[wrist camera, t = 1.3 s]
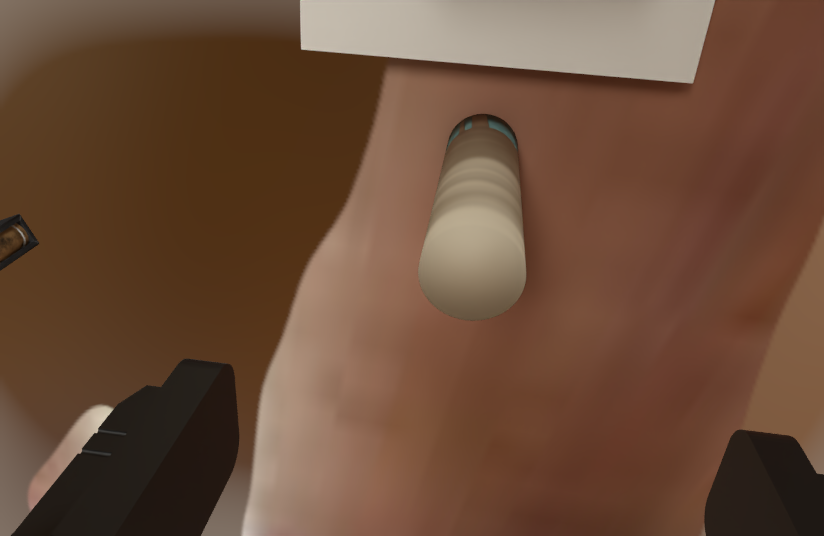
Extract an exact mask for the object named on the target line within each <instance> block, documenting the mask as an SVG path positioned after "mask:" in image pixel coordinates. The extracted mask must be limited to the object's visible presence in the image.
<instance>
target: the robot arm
mask: <svg viewBox="0 0 824 536" xmlns="http://www.w3.org/2000/svg"><path fill="white" fill-rule="evenodd" d="M237 414H238V413H237V401H236V389H235V376H234V370H233V368H232V366H231V365H230V364H225V363H218V362H209V361H202V360H194V359H184V360H182V361H181V362H180V363H179V364H178V365H177V366H176V368H175V369H174V371H173V372H172V373H171V375H170V376H169V377H168V378H167V380H166V381H165V382H164V384H163V385H162V387H156V386H148V385H147V386H145V387H144V388H142V389H141V390H139V391H138V392H136V393H134V394H133V395H131V396H130V397H128V398H127V399H125V400H124V401H122V402H121V403H119V404H118V405H117V406H116V407H115V408H114V410H113V411H112V412H111V413H110V415H109V416H108V417H107V418H106V420H105V421H104V422H103V423H102V425H101V426H100V427H99V428H98V433H94V434H93V436H92V437H91V438H90V439H89V441H88V442H87V443H86V444H85V445H84V447H83V448H82V452H81V454H77V455H76V457H75V458H74V459H73V460H72V461H71V463H70V464H69V465H68V466H67V468H66V469H65V470H64V471H63V473H62V474H61V475H60V476H59V478H58V479H57V480H56V481H55V482H54V484H53V485H52V486H51V487H50V489H49V490H48V491H47V492H46V494H45V495H44V496H43V497H42V498H41V500H40V501H39V502H38V503H37V505H36V506H35V507H34V508H33V510H32V511H31V512H30V513H29V514H28V516H27V517H26V518H25V519H24V521H23V522H22V523H21V525H20V526H19V527H18V528H17V529H16V531H15V532H14V533H13V534H12V535H11V536H201V534H202V532H203V530H204V528H205V526H206V524H207V522H208V520H209V517H210V516H211V514H212V512H213V510H214V508H215V506H216V504H217V502H218V500H219V498H220V496H221V494H222V492H223V490H224V488H225V485H226V484H227V481H228V479H229V478H230V475H231V473H232V471H233V468H234V465H235V462H236V458H237V453H238V447H239V426H238V415H237ZM705 532H706V536H824V475H823V474H817V473H816V471H815V470H814V468H813V466H812V465H811V463H810V461H809V460H808V458H807V456H806V455H805V453H804V451H803V449H802V448H801V447H800V444H799V443H798V442H797V440H796V439H795V438H793V437H791V436H787V435H779V434H771V433H763V432H755V431H747V430H737V431H735V433H734V434H733V435H732V436H731V438H730V441H729V443H728V446H727V448H726V451H725V454H724V456H723V459H722V462H721V464H720V467H719V469H718V472H717V475H716V477H715V480H714V482H713V485H712V488H711V490H710V493H709V496H708V498H707V502H706V507H705Z"/></svg>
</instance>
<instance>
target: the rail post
mask: <svg viewBox="0 0 824 536" xmlns="http://www.w3.org/2000/svg"><path fill="white" fill-rule="evenodd" d="M418 276H419V282H420V286H421V288H422V291H423V293H424V294H425V296H426V297H427V299H428V300H429V301H430V302H431V303H432V304H433V305H434V306H435V307H436V308H437V309H439V310H440V311H441V312H443V313H445V314H447V315H449V316H452V317H454V318H458V319H462V320H471V321H475V320H485V319H489V318H493V317H495V316H498V315H500V314H502V313H503V312H505V311H507V310H508V309H509V308H511V307H512V306H513V305H514V304H515V303H516V301H517V300H518V299H519V297H520V296H521V294H522V292H523V289H524V287H525V282H526V262H525V247H524V233H523V218H522V203H521V189H520V174H519V159H518V144H517V139H516V136H515V133H514V132H513V130H512V128H511V127H510V126H509V125H508V124H507V123H506V122H505V121H504V120H502V119H500V118H498V117H496V116H493V115H488V114H477V115H473V116H470V117H468V118H466V119H464V120H462V121H461V122H460V123H459V124H458V125H457V126H456V127H455V128H454V129H453V131H452V133H451V135H450V137H449V141H448V145H447V149H446V153H445V157H444V161H443V166H442V170H441V174H440V178H439V183H438V187H437V191H436V195H435V199H434V204H433V208H432V212H431V216H430V220H429V225H428V229H427V233H426V237H425V241H424V246H423V250H422V254H421V258H420V262H419V268H418Z"/></svg>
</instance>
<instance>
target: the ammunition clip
mask: <svg viewBox="0 0 824 536" xmlns="http://www.w3.org/2000/svg"><path fill="white" fill-rule="evenodd" d="M38 244H39V242H38V241H37V239H36V238H35V236H34V235H33V233H32V232H31V230H30V229H29V227H28V226H27V225H26V223H25V222H24V220H23V219H22V217H21V215H20V214H17V215H14V216H12V217H9V218H6V219H3V220H0V270H2V269H3V268H5V267H6V266H8V265H9V264H10V263H12V262H13V261H15V260H16V259H18V258H19V257H20V256H22V255H24V254H25V253H27V252H28V251H29V250H31V249H32V248H34V247H35V246H37V245H38Z"/></svg>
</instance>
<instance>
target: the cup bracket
mask: <svg viewBox="0 0 824 536" xmlns="http://www.w3.org/2000/svg"><path fill="white" fill-rule="evenodd" d="M714 3H715V0H300V16H301V17H300V19H301V49H302V50H313V51H325V52H337V53H348V54H360V55H372V56H382V57H394V58H405V59H417V60H428V61H440V62H451V63H463V64H474V65H486V66H497V67H509V68H520V69H532V70H543V71H555V72H566V73H578V74H589V75H601V76H612V77H624V78H635V79H647V80H659V81H670V82H682V83H693V81H694V78H695V74H696V70H697V66H698V63H699V59H700V55H701V51H702V48H703V44H704V40H705V36H706V33H707V29H708V25H709V21H710V18H711V14H712V10H713V7H714Z"/></svg>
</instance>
